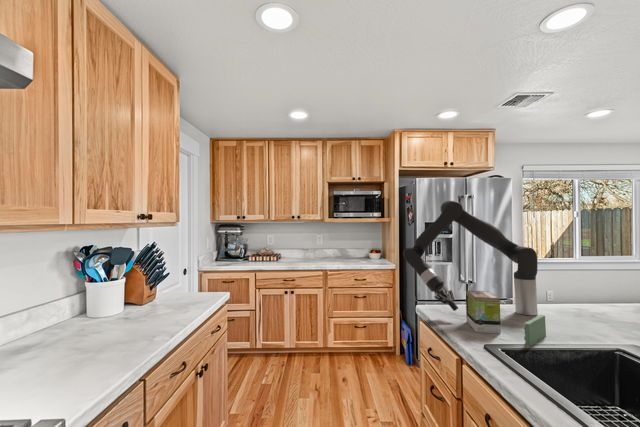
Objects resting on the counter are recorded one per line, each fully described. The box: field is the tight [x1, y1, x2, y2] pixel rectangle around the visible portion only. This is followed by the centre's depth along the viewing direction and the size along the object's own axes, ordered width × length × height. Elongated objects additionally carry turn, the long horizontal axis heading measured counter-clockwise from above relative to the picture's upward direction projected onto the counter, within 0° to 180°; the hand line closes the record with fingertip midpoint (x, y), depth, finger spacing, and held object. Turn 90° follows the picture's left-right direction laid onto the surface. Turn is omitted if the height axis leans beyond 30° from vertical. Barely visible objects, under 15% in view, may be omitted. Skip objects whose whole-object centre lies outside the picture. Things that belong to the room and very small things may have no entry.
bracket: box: [523, 314, 547, 347], centre depth 118 cm, size 17×2×8 cm, turn 128°
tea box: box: [465, 290, 502, 334], centre depth 134 cm, size 15×10×15 cm
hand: (456, 309), depth 143 cm, fingers closed
